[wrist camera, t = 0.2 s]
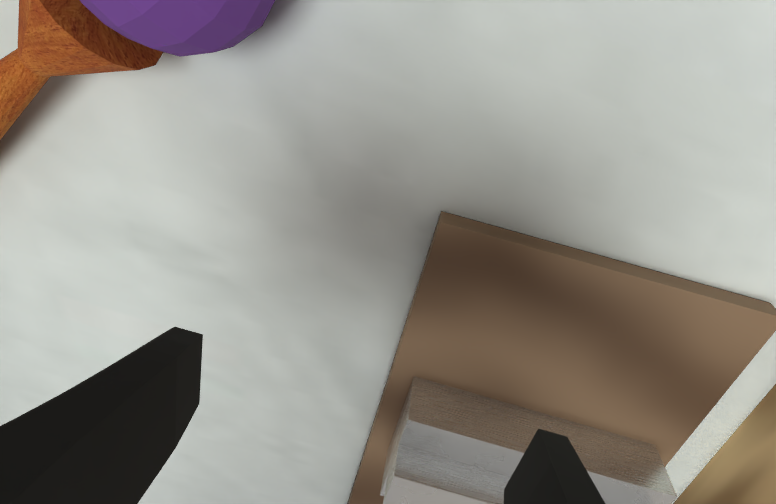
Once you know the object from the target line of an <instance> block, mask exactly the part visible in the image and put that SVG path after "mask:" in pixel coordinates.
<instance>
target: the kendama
mask: <svg viewBox="0 0 776 504" xmlns="http://www.w3.org/2000/svg"><path fill="white" fill-rule="evenodd" d="M274 2H275V0H19V26H18V49H16V50H15V51H13V52H11V53H10V54H8V55H7V56H5V57H4V58H2V59H1V60H0V140H1V138H2V137H3V136H4V135H5V133H6V132H7V131H8V130H9V128H10V127H11V126H12V125H13V123H14V122H15V121H16V120H17V118H18V117H19V116H20V114H21V113H22V112H23V111H24V109H25V108H26V107H27V106H28V104H29V103H30V102H31V101H32V99H33V98H34V97H35V96H36V94H37V93H38V92H39V90H40V89H41V88H42V87H43V85H44V84H45V83H46V82H47V80H48V79H49V78H50V77H51V76H63V75H76V74H89V73H102V72H115V71H129V70H140V69H143V68H147V67H150V66H154V65H156V63H157V62H158V60H159V58H160V57H161V55H162V53H163V52H166V53H169V54H173V55H177V56H188V55H196V54H204V53H212V52H217V51H220V50H223V49H227V48H230V47H233V46H235V45H236V44H238V43H239V42H240V41H242V40H243V39H245V38H246V37H247V36H249V35H250V34H252V33H253V32H254V31H256V30H257V29H258V28H260V27H261V26H262V25H263V23H264V21H265V19H266V17H267V15H268V13H269V11H270V9H271V8H272V6H273V4H274Z"/></svg>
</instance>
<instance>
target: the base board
mask: <svg viewBox="0 0 776 504" xmlns="http://www.w3.org/2000/svg"><path fill="white" fill-rule="evenodd" d="M775 331H776V308H775V307H774V306H773V305H772V304H771V303H768V302H764V301H761V300H757V299H754V298H750V297H747V296H743V295H739V294H736V293H732V292H729V291H725V290H722V289H718V288H714V287H711V286H707V285H704V284H700V283H696V282H693V281H689V280H686V279H682V278H679V277H675V276H671V275H668V274H664V273H661V272H657V271H654V270H650V269H646V268H643V267H639V266H636V265H632V264H628V263H625V262H621V261H618V260H614V259H611V258H607V257H603V256H600V255H596V254H593V253H589V252H585V251H582V250H578V249H575V248H571V247H568V246H564V245H560V244H557V243H553V242H550V241H546V240H543V239H539V238H535V237H532V236H528V235H525V234H521V233H517V232H514V231H510V230H507V229H503V228H500V227H496V226H492V225H489V224H485V223H482V222H478V221H475V220H471V219H467V218H464V217H460V216H457V215H453V214H449V213H446V212H442V211H441V214H440V217H439V220H438V223H437V226H436V229H435V232H434V236H433V239H432V242H431V245H430V248H429V251H428V254H427V257H426V261H425V264H424V267H423V270H422V273H421V276H420V279H419V282H418V285H417V289H416V292H415V295H414V298H413V301H412V304H411V307H410V310H409V313H408V317H407V320H406V323H405V326H404V329H403V332H402V335H401V338H400V341H399V345H398V348H397V351H396V354H395V357H394V360H393V363H392V366H391V370H390V373H389V376H388V379H387V382H386V385H385V388H384V391H383V394H382V398H381V401H380V404H379V407H378V410H377V413H376V416H375V419H374V422H373V426H372V429H371V432H370V435H369V438H368V441H367V444H366V447H365V451H364V454H363V457H362V460H361V463H360V466H359V469H358V472H357V475H356V479H355V482H354V485H353V488H352V491H351V494H350V497H349V500H348V503H347V504H383V499H384V496H381V495H380V492H381V486H382V480H383V474H384V469H385V463H386V457H387V451H388V447H389V445H390V442H391V439H392V436H393V433H394V431H395V428H396V425H397V422H398V419H399V417H400V414H401V411H402V408H403V405H404V403H405V400H406V397H407V394H408V391H409V389H410V386H411V383H412V380H413V377H414V376H415V377H418V378H422V379H425V380H429V381H432V382H436V383H439V384H443V385H446V386H450V387H453V388H457V389H460V390H464V391H467V392H471V393H474V394H478V395H482V396H485V397H489V398H492V399H496V400H499V401H503V402H506V403H510V404H513V405H517V406H520V407H524V408H527V409H531V410H534V411H538V412H541V413H545V414H548V415H552V416H555V417H559V418H562V419H566V420H569V421H573V422H576V423H580V424H584V425H587V426H591V427H594V428H598V429H601V430H605V431H608V432H612V433H615V434H619V435H622V436H626V437H629V438H633V439H636V440H640V441H643V442H647V443H650V444H654V445H656V448H657V450H658V452H659V455H660V457H661V459H662V462H663V464H664V467H665V466H666V465H667V464H668V462H669V461H670V460H671V459H672V457H673V456H674V455H675V454H676V452H677V451H678V450H679V449H680V448H681V446H682V445H683V444H684V443H685V441H686V440H687V439H688V438H689V436H690V435H691V434H692V433H693V432H694V430H695V429H696V428H697V427H698V425H699V424H700V423H701V422H702V420H703V419H704V418H705V417H706V416H707V414H708V413H709V412H710V411H711V409H712V408H713V407H714V406H715V404H716V403H717V402H718V401H719V400H720V398H721V397H722V396H723V395H724V393H725V392H726V391H727V390H728V388H729V387H730V386H731V385H732V384H733V382H734V381H735V380H736V379H737V377H738V376H739V375H740V374H741V372H742V371H743V370H744V369H745V368H746V366H747V365H748V364H749V363H750V361H751V360H752V359H753V358H754V356H755V355H756V354H757V353H758V352H759V350H760V349H761V348H762V347H763V345H764V344H765V343H766V342H767V340H768V339H769V338H770V337H771V336H772V334H773V333H774V332H775Z"/></svg>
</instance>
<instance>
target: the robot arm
mask: <svg viewBox="0 0 776 504" xmlns="http://www.w3.org/2000/svg"><path fill="white" fill-rule="evenodd" d="M202 338H203V335H202V334H199V333H195V332H192V331H188V330H184V329H181V328H177V327H174V328H172V329H170V330H168V331H166V332H165V333H163V334H161V335H160V336H158V337H156V338H155V339H153V340H151V341H150V342H148V343H147V344H145V345H143V346H142V347H140V348H138V349H137V350H135V351H134V352H132V353H130V354H129V355H127V356H125V357H124V358H122V359H120V360H119V361H117V362H115V363H114V364H112V365H111V366H109V367H107V368H105V369H104V370H102V371H100V372H99V373H97V374H95V375H93V376H92V377H90V378H88V379H87V380H85V381H83V382H81V383H80V384H78V385H76V386H74V387H73V388H71V389H69V390H67V391H66V392H64V393H62V394H60V395H59V396H57V397H55V398H53V399H51V400H49V401H47V402H45V403H43V404H42V405H40V406H38V407H36V408H34V409H32V410H30V411H28V412H27V413H25V414H23V415H21V416H19V417H17V418H15V419H13V420H11V421H10V422H8V423H6V424H4V425H2V426H0V504H137V503H138V502H139V500H140V499H141V498H142V496H143V495H144V493H145V492H146V490H147V489H148V487H149V486H150V485H151V483H152V482H153V480H154V479H155V477H156V476H157V474H158V473H159V471H160V470H161V469H162V467H163V466H164V464H165V463H166V461H167V460H168V458H169V457H170V455H171V454H172V452H173V451H174V449H175V448H176V446H177V444H178V442H179V440H180V439H181V437H182V435H183V433H184V431H185V430H186V428H187V426H188V424H189V422H190V420H191V418H192V416H193V414H194V412H195V410H196V409H197V407H198V405H199V399H200V378H201V358H202ZM504 504H605V502H604V500H603V498H602V497H601V495H600V493H599V491H598V490H597V488H596V486H595V484H594V483H593V481H592V479H591V477H590V476H589V474H588V472H587V470H586V469H585V467H584V465H583V463H582V462H581V460H580V458H579V456H578V454H577V453H576V451H575V449H574V447H573V446H572V444H571V442H570V441H569V439H568V437H567V436H564V435H560V434H556V433H553V432H549V431H546V430H542V429H539V428H538V430H537V432H536V433H535V435H534V437H533V439H532V440H531V442H530V444H529V446H528V448H527V449H526V451H525V453H524V455H523V456H522V458H521V460H520V462H519V464H518V465H517V467H516V469H515V471H514V472H513V474H512V476H511V478H510V480H509V481H508V483H507V485H506V487H505V489H504Z"/></svg>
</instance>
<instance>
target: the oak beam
mask: <svg viewBox="0 0 776 504" xmlns="http://www.w3.org/2000/svg"><path fill="white" fill-rule="evenodd" d="M673 504H776V384H775V385H774V387H773V388H772V389H771V390H770V391H769V392H768V394H767V395H766V396H765V397H764V398H763V399H762V401H761V402H760V403H759V404H758V405H757V406H756V408H755V409H754V410H753V411H752V412H751V413H750V415H749V416H748V417H747V418H746V419H745V420H744V422H743V423H742V424H741V425H740V426H739V428H738V429H737V430H736V431H735V432H734V433H733V435H732V436H731V437H730V438H729V439H728V440H727V442H726V443H725V444H724V445H723V446H722V447H721V449H720V450H719V451H718V452H717V453H716V454H715V456H714V457H713V458H712V459H711V460H710V461H709V463H708V464H707V465H706V466H705V467H704V468H703V470H702V471H701V472H700V473H699V474H698V475H697V477H696V478H695V479H694V480H693V481H692V482H691V484H690V485H689V486H688V487H687V488H686V489H685V491H684V492H683V493H682V494H681V495H680V496H679V498H678V499H677V500H676V501H675V502H674V503H673Z"/></svg>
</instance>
